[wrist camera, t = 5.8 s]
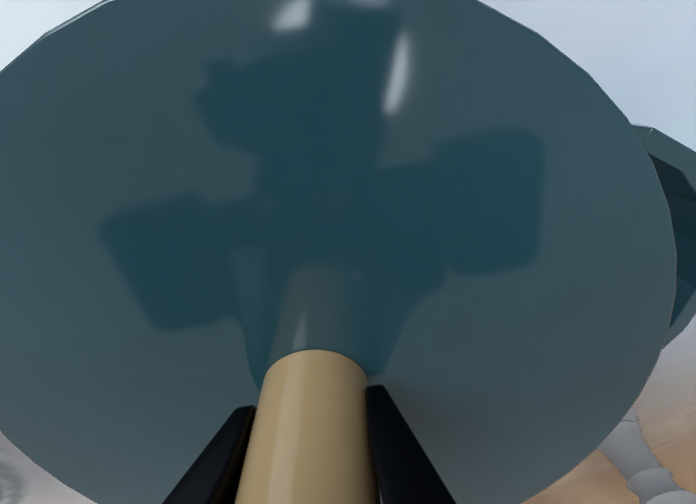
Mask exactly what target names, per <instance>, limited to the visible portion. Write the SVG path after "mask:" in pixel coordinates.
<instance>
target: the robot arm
mask: <svg viewBox="0 0 696 504" xmlns="http://www.w3.org/2000/svg"><path fill="white" fill-rule="evenodd" d="M366 407H367V425H368V438H369V444H370V449H371V453H372V458H373V462H374V467H375V471H376V475H377V480H378V484H379V489H380V493H381V498H382V502H383V504H456V502H455V500H454V499H453V497H452V496H451V494H450V492H449V491H448V489H447V487H446V486H445V484H444V482H443V481H442V479H441V478H440V476H439V474H438V473H437V471H436V469H435V468H434V466H433V465H432V463H431V461H430V460H429V458H428V456H427V455H426V453H425V451H424V450H423V448H422V447H421V445H420V443H419V442H418V440H417V438H416V437H415V435H414V434H413V432H412V430H411V429H410V427H409V425H408V424H407V422H406V420H405V419H404V417H403V416H402V414H401V412H400V411H399V409H398V407H397V406H396V404H395V403H394V401H393V399H392V398H391V396H390V394H389V393H388V391H387V389H386V388H385V386H384V385H382V384H379V385H373V386H368V387H367V388H366ZM255 413H256V407H255V406H253V405H249V406H243V407H238V408H236V409H235V410H234V411H233V413H232V414H231V415H230V416H229V418H228V419H227V420H226V422H225V423H224V424H223V425H222V427H221V428H220V429H219V431H218V432H217V433H216V434H215V436H214V437H213V438H212V440H211V441H210V442H209V444H208V445H207V446H206V447H205V449H204V450H203V451H202V453H201V454H200V455H199V456H198V458H197V459H196V460H195V462H194V463H193V464H192V466H191V467H190V468H189V469H188V471H187V472H186V473H185V475H184V476H183V477H182V478H181V480H180V481H179V482H178V484H177V485H176V486H175V487H174V489H173V490H172V491H171V493H170V494H169V495H168V497H167V498H166V499H165V500H164V502H163V503H162V504H234V502H235V498H236V494H237V490H238V485H239V481H240V477H241V473H242V468H243V464H244V460H245V456H246V451H247V447H248V443H249V439H250V434H251V430H252V426H253V422H254V417H255Z"/></svg>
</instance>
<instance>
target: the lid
mask: <svg viewBox="0 0 696 504" xmlns="http://www.w3.org/2000/svg"><path fill="white" fill-rule="evenodd" d="M676 263H677V250H676V244H675V238H674V231H673V225H672V219H671V212H670V207H669V205H668V202H667V199H666V196H665V193H664V191H663V188H662V185H661V182H660V180H659V177H658V174H657V171H656V168H655V166H654V163H653V161H652V160H651V158H650V156H649V154H648V153H647V151H646V149H645V148H644V146H643V144H642V143H641V141H640V139H639V138H638V136H637V134H636V132H635V131H634V129H633V127H632V126H631V124H630V122H629V121H628V119H627V117H626V116H625V115H624V114H623V113H622V111H621V110H620V109H619V108H618V107H617V106H616V105H615V103H614V102H613V101H612V100H611V99H610V98H609V97H608V95H607V94H606V93H605V92H604V91H603V90H602V88H601V87H600V86H599V85H598V84H597V83H596V82H595V80H594V79H593V78H592V77H591V76H590V75H589V74H588V73H587V72H586V71H585V70H584V69H582V68H581V67H580V66H579V65H577V64H576V63H575V62H574V61H572V60H571V59H570V58H569V57H567V56H566V55H565V54H564V53H562V52H561V51H560V50H559V49H557V48H556V47H555V46H554V45H552V44H551V43H550V42H549V41H547V40H546V39H545V38H544V37H542V36H541V35H540V34H539V33H537V32H535V31H533V30H532V29H530V28H528V27H526V26H524V25H523V24H521V23H519V22H517V21H515V20H513V19H512V18H510V17H508V16H506V15H504V14H502V13H501V12H499V11H497V10H495V9H493V8H491V7H490V6H488V5H486V4H484V3H482V2H480V1H479V0H102V1H101V2H99V3H97V4H95V5H94V6H92V7H90V8H88V9H87V10H85V11H83V12H81V13H79V14H78V15H76V16H74V17H72V18H71V19H69V20H67V21H65V22H64V23H62V24H60V25H58V26H57V27H55V28H53V29H51V30H49V31H48V32H46V33H45V34H43V35H42V36H41V37H40V38H39V39H38V40H36V41H35V42H34V43H33V44H32V45H31V46H29V47H28V48H27V49H26V50H25V51H24V52H22V53H21V54H20V55H19V56H18V57H17V58H15V59H14V60H13V61H12V62H11V63H10V64H8V65H7V66H6V67H5V68H4V69H2V70H1V71H0V431H1V432H2V433H3V434H4V435H5V436H6V438H7V439H8V440H10V441H11V442H12V443H13V444H14V445H15V446H16V447H17V448H19V449H20V450H21V451H22V452H23V453H24V454H25V455H26V456H28V457H29V458H30V459H31V460H32V461H33V462H34V463H36V464H37V465H38V466H40V467H41V468H43V469H44V470H45V471H47V472H48V473H50V474H51V475H52V476H54V477H55V478H56V479H58V480H59V481H61V482H62V483H63V484H65V485H67V486H68V487H70V488H72V489H73V490H75V491H77V492H78V493H80V494H82V495H84V496H85V497H87V498H89V499H90V500H92V501H94V502H96V503H98V504H162V503H163V502H164V500H165V499H166V498H167V497H168V495H169V494H170V493H171V491H172V490H173V489H174V487H175V486H176V485H177V484H178V482H179V481H180V480H181V478H182V477H183V476H184V475H185V473H186V472H187V471H188V469H189V468H190V467H191V466H192V464H193V463H194V462H195V460H196V459H197V458H198V456H199V455H200V454H201V453H202V451H203V450H204V449H205V447H206V446H207V445H208V444H209V442H210V441H211V440H212V438H213V437H214V436H215V434H216V433H217V432H218V431H219V429H220V428H221V427H222V425H223V424H224V423H225V422H226V420H227V419H228V418H229V416H230V415H231V414H232V413H233V411H234V410H235V409H236V408H238V407H243V406H249V405H253V406H255V407H256V413H255V417H254V422H253V426H252V430H251V434H250V439H249V443H248V447H247V451H246V456H245V460H244V464H243V468H242V473H241V477H240V481H239V485H238V490H237V494H236V498H235V502H234V504H383V502H382V498H381V493H380V489H379V484H378V480H377V475H376V471H375V467H374V462H373V458H372V453H371V449H370V444H369V438H368V425H367V407H366V388H367V387H368V386H373V385H379V384H382V385H384V386H385V388H386V389H387V391H388V393H389V394H390V396H391V398H392V399H393V401H394V403H395V404H396V406H397V407H398V409H399V411H400V412H401V414H402V416H403V417H404V419H405V420H406V422H407V424H408V425H409V427H410V429H411V430H412V432H413V434H414V435H415V437H416V438H417V440H418V442H419V443H420V445H421V447H422V448H423V450H424V451H425V453H426V455H427V456H428V458H429V460H430V461H431V463H432V465H433V466H434V468H435V469H436V471H437V473H438V474H439V476H440V478H441V479H442V481H443V482H444V484H445V486H446V487H447V489H448V491H449V492H450V494H451V496H452V497H453V499H454V500H455V502H456V504H521V503H522V502H524V501H526V500H527V499H529V498H531V497H533V496H534V495H536V494H538V493H539V492H541V491H543V490H544V489H546V488H547V487H549V486H550V485H552V484H553V483H554V482H556V481H557V480H559V479H560V478H561V477H563V476H564V475H565V474H567V473H568V472H570V471H571V470H572V469H573V468H575V467H576V466H577V465H578V464H579V463H580V462H581V461H583V460H584V459H585V458H586V457H587V456H588V455H589V454H591V453H592V452H593V451H594V450H595V449H596V448H597V447H598V446H599V445H600V444H601V443H602V442H603V441H604V440H605V438H606V437H607V436H608V435H609V434H610V433H611V432H612V431H613V430H614V429H615V428H616V426H617V425H618V424H619V423H620V422H621V420H622V419H623V418H624V416H625V415H626V413H627V412H628V411H629V409H630V408H631V406H632V405H633V404H634V402H635V401H636V400H637V398H638V397H639V395H640V393H641V391H642V390H643V388H644V386H645V384H646V382H647V380H648V378H649V377H650V375H651V373H652V371H653V369H654V367H655V365H656V363H657V360H658V358H659V355H660V352H661V349H662V347H663V344H664V341H665V338H666V336H667V333H668V330H669V325H670V320H671V315H672V310H673V305H674V299H675V294H676Z"/></svg>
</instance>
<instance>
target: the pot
mask: <svg viewBox="0 0 696 504" xmlns="http://www.w3.org/2000/svg"><path fill="white" fill-rule="evenodd" d="M630 124H631V126H632V127H633V129H634V131H635V132H636V134H637V136H638V138H639V139H640V141H641V143H642V144H643V146H644V148H645V149H646V151H647V153H648V154H649V156H650V158H651V160H652V161H653V163H654V166H655V168H656V171H657V174H658V177H659V180H660V182H661V185H662V188H663V191H664V193H665V196H666V199H667V202H668V205H669V207H670V212H671V219H672V225H673V231H674V238H675V244H676V250H677V263H676V294H675V299H674V305H673V310H672V315H671V320H670V325H669V330H668V333H667V336H666V338H665V341H664V344H663V347H662V349H663V348H664V347H665V346H666V345H668V344H669V343H670V342H671V341H672V340H673V339H674V338H675V337H676V336H677V335H679V334H680V333H681V332H682V331H683V330H684V328H686V327H687V325H688V324H689V322H690V321H691V319H692V318H693V317H694V315H695V314H696V152H695V151H693V150H691V149H690V148H688V147H686V146H684V145H683V144H681V143H679V142H678V141H676V140H674V139H672V138H671V137H669V136H667V135H665V134H664V133H662V132H660V131H658V130H657V129H655V128H652V127H648V126H643V125H638V124H633V123H630ZM662 349H661V350H662Z"/></svg>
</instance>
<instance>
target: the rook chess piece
mask: <svg viewBox="0 0 696 504" xmlns="http://www.w3.org/2000/svg"><path fill="white" fill-rule="evenodd" d="M638 424H639V419H638V417H637V414H636V412H635V410H634V409H633V408H630V409H629V411H628V412H627V413H626V415H625V416H624V418H623V419H622V420H621V422H620V423H619V424H618V425H617V426H616V428H615V429H614V430H613V431H612V432H611V433H610V434H609V435H608V436H607V437H606V438H605V440H604V441H603V442H602V443H601V444H600V445H599V446H598V447H597V448H596V449H597V450H599V451H601V452H602V453H603V454H604V455H605V456H606V457H607V458H608V459H609V460H610V461H611V462H612V463H613V465H614V466H615V467H616V468H617V469H618V470H619V472H620V473H621V474H622V476H623V477H624V478H625V480H626V481H627V485H626V486H627V488H628V490H630V491H632V492H634V493H635V494H636V495H637V496H638V497H639V499H640V504H696V495H695V494H693V493H691V492H689V491H687V490H685V489H683V488H681V487H679V486H678V485H677V484H676V483H675V482H674V481H673V475H672V472H671V471H670V470H668V469H666V468H664V467H663V466H662V465H661V463H660V462H659V461H658V460H657V459H656V457H655V456H654V454H653V453H652V451H651V450H650V448H649V446H648V445H647V443H646V442H645V440H644V439H643V437H642V434H641V432H642V429H641V427H640V425H638Z"/></svg>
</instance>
